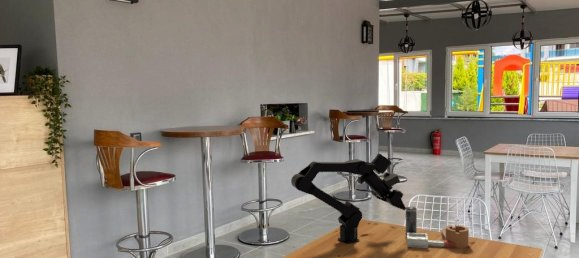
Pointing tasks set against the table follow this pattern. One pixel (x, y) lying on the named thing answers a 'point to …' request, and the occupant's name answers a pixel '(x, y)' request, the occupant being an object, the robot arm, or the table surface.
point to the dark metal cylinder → (411, 220)
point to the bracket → (456, 235)
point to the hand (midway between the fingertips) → (399, 206)
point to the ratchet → (426, 241)
